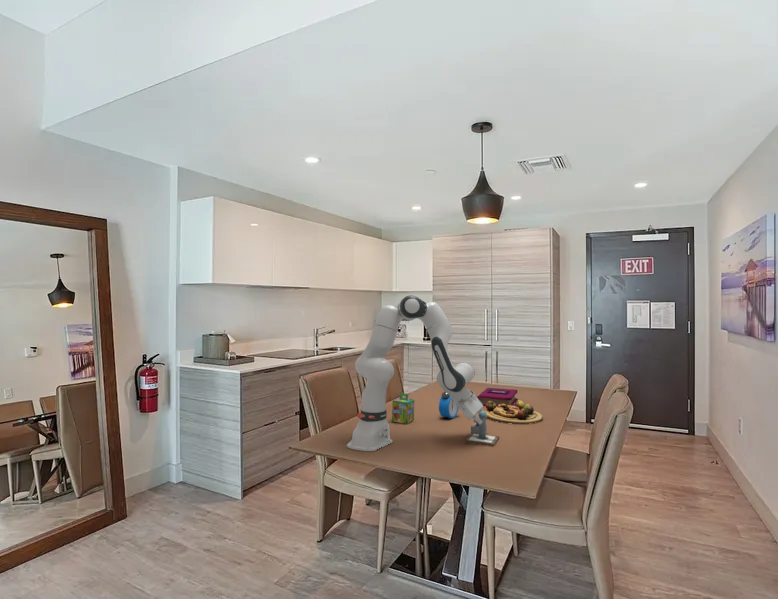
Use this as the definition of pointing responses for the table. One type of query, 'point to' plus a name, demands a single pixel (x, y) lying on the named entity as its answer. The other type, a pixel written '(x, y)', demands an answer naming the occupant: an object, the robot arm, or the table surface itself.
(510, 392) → the book
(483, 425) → the joystick
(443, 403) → the alarm clock
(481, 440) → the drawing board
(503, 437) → the table surface
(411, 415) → the chalk box
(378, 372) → the robot arm
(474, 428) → the button box
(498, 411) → the wooden plate with food
